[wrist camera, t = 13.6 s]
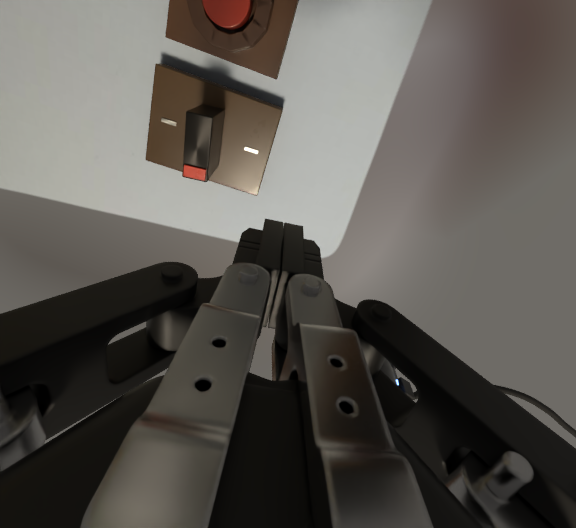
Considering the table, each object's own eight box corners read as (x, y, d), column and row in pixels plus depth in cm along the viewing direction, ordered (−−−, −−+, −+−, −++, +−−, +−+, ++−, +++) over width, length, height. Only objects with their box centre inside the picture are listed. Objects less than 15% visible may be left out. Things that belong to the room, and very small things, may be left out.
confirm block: (305, -26, 28) (307, -38, 24) (277, 78, 32) (275, 80, 28) (187, -77, 26) (171, -98, 23) (173, 38, 30) (157, 35, 27)
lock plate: (283, 107, 33) (282, 110, 31) (258, 190, 38) (256, 196, 36) (163, 63, 31) (154, 63, 29) (152, 155, 36) (144, 160, 34)
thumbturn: (202, 103, 31) (184, 111, 26) (225, 109, 31) (212, 117, 26) (197, 161, 34) (181, 178, 29) (218, 166, 34) (206, 183, 29)
